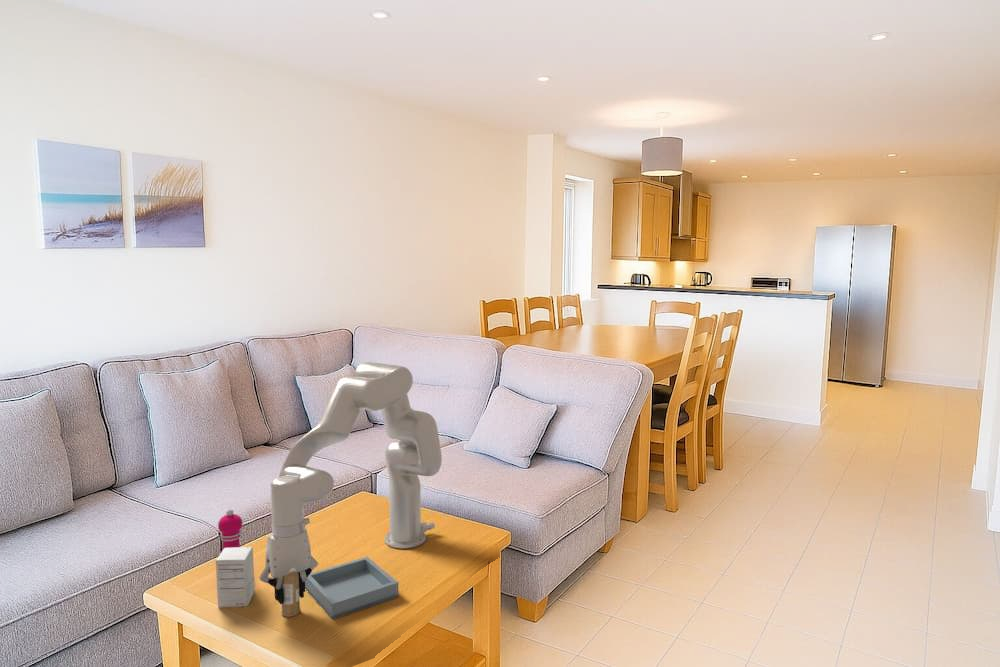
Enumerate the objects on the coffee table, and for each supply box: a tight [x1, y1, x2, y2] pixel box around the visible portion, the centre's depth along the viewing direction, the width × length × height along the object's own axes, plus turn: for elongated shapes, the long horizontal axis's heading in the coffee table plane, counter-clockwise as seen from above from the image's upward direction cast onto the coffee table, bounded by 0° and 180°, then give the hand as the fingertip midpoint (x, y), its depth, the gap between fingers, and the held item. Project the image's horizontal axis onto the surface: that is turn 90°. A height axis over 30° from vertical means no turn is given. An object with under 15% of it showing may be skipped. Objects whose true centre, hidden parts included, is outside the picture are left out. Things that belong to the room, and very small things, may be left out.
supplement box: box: [215, 546, 256, 608], centre depth 169 cm, size 7×7×13 cm
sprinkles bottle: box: [281, 568, 301, 618], centre depth 163 cm, size 5×5×14 cm
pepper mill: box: [217, 508, 243, 552], centre depth 179 cm, size 7×7×20 cm
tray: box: [305, 556, 399, 620], centre depth 174 cm, size 18×18×4 cm
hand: (290, 597), depth 164 cm, fingers closed on sprinkles bottle, 4 cm apart
